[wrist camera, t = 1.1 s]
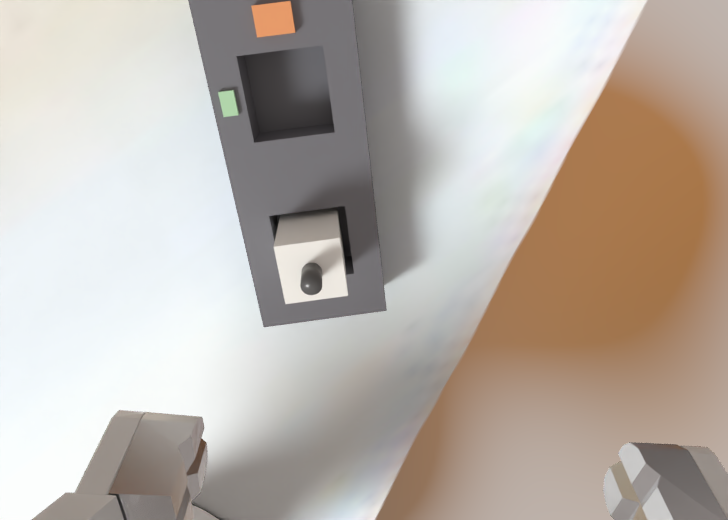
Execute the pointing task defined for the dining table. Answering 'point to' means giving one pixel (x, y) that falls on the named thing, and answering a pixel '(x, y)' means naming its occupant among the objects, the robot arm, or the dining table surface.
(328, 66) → the power strip
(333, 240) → the plug
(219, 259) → the dining table surface
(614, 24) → the dining table surface
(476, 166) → the dining table surface
